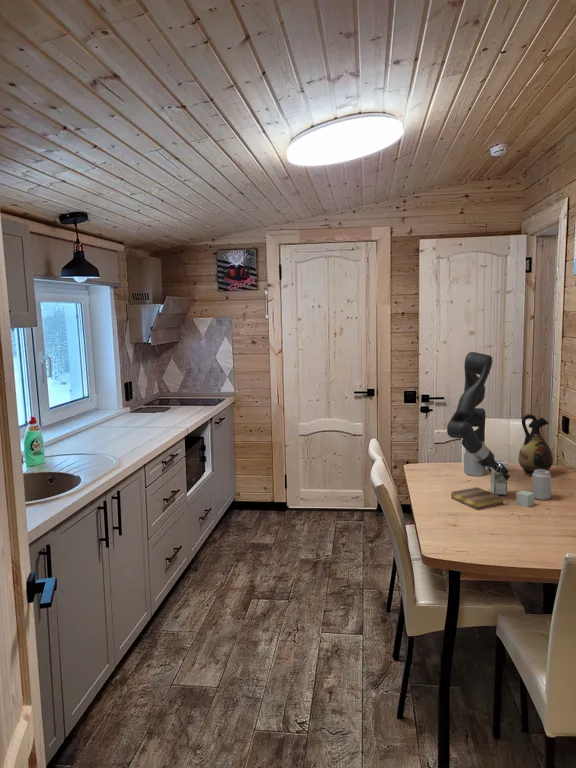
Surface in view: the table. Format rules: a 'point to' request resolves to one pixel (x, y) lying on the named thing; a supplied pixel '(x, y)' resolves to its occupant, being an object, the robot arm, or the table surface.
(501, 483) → the syrup box
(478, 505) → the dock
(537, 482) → the can
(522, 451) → the ceramic jug
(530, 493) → the pale green cube
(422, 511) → the table surface
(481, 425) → the robot arm
